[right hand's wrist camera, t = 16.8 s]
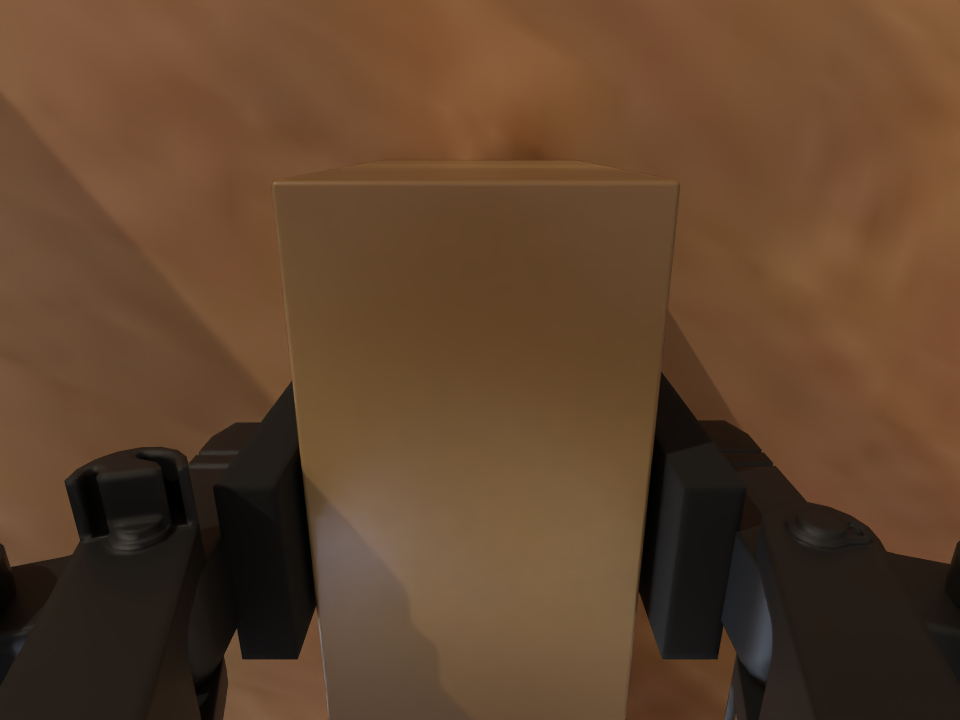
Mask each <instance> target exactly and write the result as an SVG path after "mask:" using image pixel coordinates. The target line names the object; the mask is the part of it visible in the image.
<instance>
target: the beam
mask: <svg viewBox="0 0 960 720" xmlns="http://www.w3.org/2000/svg"><path fill="white" fill-rule="evenodd" d="M271 188H272V197H273V207H274V216H275V225H276V235H277V244H278V253H279V262H280V272H281V281H282V290H283V300H284V309H285V318H286V327H287V337H288V346H289V355H290V365H291V374H292V383H293V392H294V402H295V411H296V420H297V430H298V439H299V448H300V457H301V467H302V476H303V485H304V495H305V504H306V513H307V522H308V532H309V541H310V550H311V559H312V569H313V578H314V587H315V597H316V606H317V615H318V624H319V634H320V643H321V652H322V662H323V671H324V680H325V689H326V699H327V708H328V717H329V720H626V710H627V700H628V691H629V681H630V671H631V661H632V652H633V642H634V632H635V622H636V613H637V603H638V593H639V583H640V573H641V564H642V554H643V544H644V534H645V525H646V515H647V505H648V495H649V485H650V476H651V466H652V456H653V446H654V437H655V427H656V417H657V407H658V398H659V388H660V378H661V368H662V358H663V349H664V339H665V329H666V319H667V310H668V300H669V290H670V280H671V270H672V261H673V251H674V241H675V231H676V222H677V212H678V202H679V192H680V184H679V182H678V181H676V180H673V179H668V178H663V177H658V176H653V175H648V174H643V173H638V172H633V171H628V170H623V169H617V168H612V167H607V166H602V165H597V164H592V163H587V162H582V161H577V160H380V161H375V162H370V163H364V164H359V165H354V166H348V167H343V168H338V169H332V170H327V171H322V172H316V173H311V174H306V175H300V176H295V177H290V178H284V179H279V180H276V181H273V182H272V186H271Z"/></svg>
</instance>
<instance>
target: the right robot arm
mask: <svg viewBox="0 0 960 720" xmlns="http://www.w3.org/2000/svg"><path fill="white" fill-rule="evenodd" d="M64 482H65V485H66V489H67V493H68V497H69V500H70V504H71V508H72V512H73V515H74V519H75V523H76V526H77V530H78V534H79V538H80V542H79V544H78V546H77V548H76V549H75V551H74V553H73V555H70V556H66V557H61V558H56V559H51V560H46V561H40V562H35V563H30V564H25V565H20V566H14V567H10V564H9V561H8V558H7V555H6V552H5V549H4V546H3V545H2V544H1V543H0V720H223V716H224V709H225V702H226V695H227V688H228V678H227V670H226V665H225V659H224V653H225V651H226V649H227V647H228V645H229V643H230V641H231V639H232V637H233V635H234V633H235V631H236V629H237V631H238V636H239V642H240V648H241V654H242V659H298V657H299V654H300V651H301V648H302V645H303V642H304V639H305V636H306V634H307V631H308V628H309V625H310V622H311V619H312V616H313V613H314V610H315V607H316V597H315V587H314V578H313V569H312V559H311V550H310V541H309V532H308V522H307V513H306V504H305V495H304V485H303V476H302V467H301V457H300V448H299V439H298V430H297V420H296V411H295V402H294V392H293V383H292V381H291V383H290V384H289V385H288V387H287V388H286V390H285V391H284V392H283V394H282V395H281V396H280V398H279V399H278V400H277V402H276V403H275V404H274V406H273V407H272V408H271V410H270V411H269V412H268V414H267V415H266V416H265V418H264V419H263V420H262V422H261V423H235V424H233V425H231V426H229V427H228V428H226V429H224V430H223V431H221V432H219V433H217V434H216V435H214V436H212V438H211V439H210V440H209V441H208V442H207V443H206V444H205V446H204V447H203V448H202V449H201V450H200V451H199V455H196V456H195V457H194V458H193V459H192V461H191V462H190V463H189V464H188V461H187V457H186V456H185V455H184V454H182V453H181V452H179V451H178V450H174V449H169V448H164V447H141V448H135V449H130V450H125V451H119V452H116V453H113V454H110V455H107V456H104V457H101V458H98V459H95V460H93V461H91V462H90V463H88V464H86V465H84V466H82V467H80V468H78V469H77V470H76V471H74V472H73V473H72V474H71V475H70V476H69V477H68V478H67V479H66V480H65V481H64ZM639 593H640V596H641V599H642V602H643V604H644V607H645V610H646V613H647V616H648V619H649V622H650V625H651V628H652V631H653V634H654V637H655V639H656V642H657V645H658V648H659V651H660V654H661V657H662V659H718V653H719V648H720V642H721V636H722V630H723V625H724V628H725V630H726V632H727V634H728V636H729V638H730V640H731V642H732V644H733V646H734V648H735V650H736V652H737V654H736V659H735V665H734V670H733V675H732V681H731V686H730V691H729V697H728V702H727V707H726V713H725V720H734V719H735V714H736V715H737V720H960V541H959V542H958V543H957V545H956V548H955V552H954V555H953V558H952V561H951V564H946V563H941V562H935V561H930V560H925V559H920V558H914V557H909V556H904V555H899V554H894V553H890V552H886V550H885V548H884V546H883V545H882V543H881V541H880V539H879V538H878V537H877V536H876V535H875V534H874V533H873V531H872V530H871V529H870V528H869V527H868V526H866V525H865V524H863V523H862V522H860V521H858V520H857V519H855V518H854V517H852V516H851V515H848V514H846V513H843V512H841V511H838V510H836V509H833V508H831V507H827V506H823V505H818V504H814V503H809V502H807V501H806V500H805V499H804V498H803V497H802V496H801V494H800V493H799V492H798V491H797V490H796V489H795V488H794V486H793V485H792V484H791V483H790V482H789V481H788V480H787V478H786V477H785V476H784V475H783V474H782V473H781V472H780V470H779V469H778V468H777V467H776V466H773V462H772V461H771V460H770V459H769V458H768V457H767V456H766V454H765V453H762V452H761V449H760V448H759V446H758V445H757V444H756V443H755V442H754V441H753V440H752V438H751V437H750V436H749V435H748V434H747V433H745V432H743V431H742V430H740V429H738V428H736V427H735V426H733V425H731V424H729V423H728V422H726V421H697V419H696V418H695V416H694V415H693V414H692V412H691V411H690V410H689V408H688V407H687V406H686V404H685V403H684V402H683V400H682V399H681V398H680V396H679V395H678V394H677V392H676V391H675V390H674V388H673V387H672V386H671V384H670V383H669V381H668V380H667V379H666V377H665V376H664V375H663V373H662V372H661V378H660V388H659V398H658V407H657V417H656V427H655V437H654V446H653V456H652V466H651V476H650V485H649V495H648V505H647V515H646V525H645V534H644V544H643V554H642V564H641V573H640V583H639Z"/></svg>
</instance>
